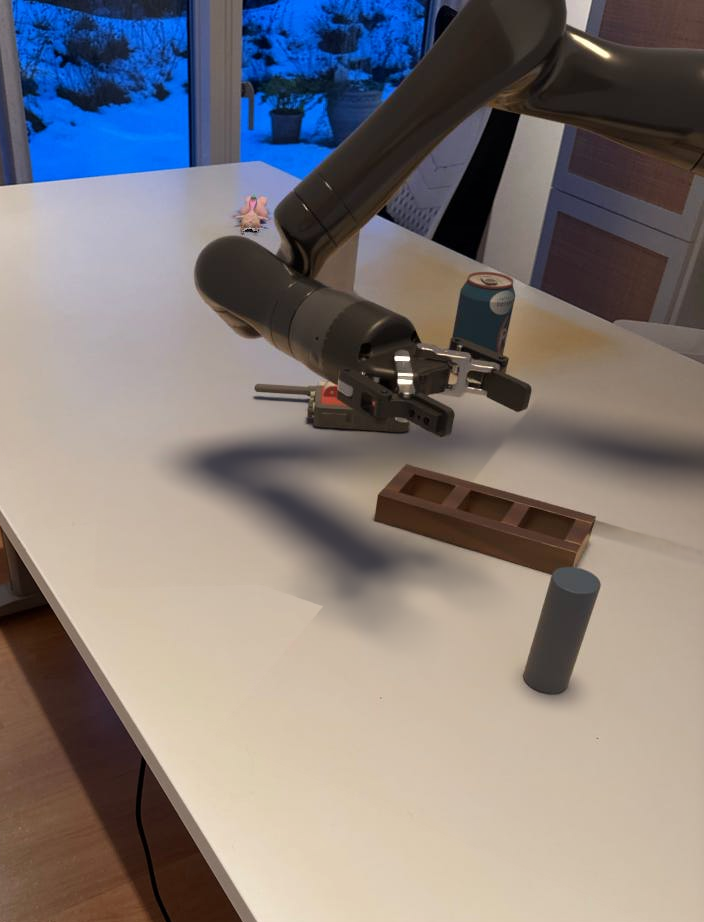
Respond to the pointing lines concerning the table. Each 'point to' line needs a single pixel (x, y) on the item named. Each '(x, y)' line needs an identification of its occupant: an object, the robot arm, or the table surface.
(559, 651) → the peg
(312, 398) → the walkie-talkie
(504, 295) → the soda can
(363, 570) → the table surface
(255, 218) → the rabbit figure
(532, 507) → the peg block
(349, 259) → the pillar candle
